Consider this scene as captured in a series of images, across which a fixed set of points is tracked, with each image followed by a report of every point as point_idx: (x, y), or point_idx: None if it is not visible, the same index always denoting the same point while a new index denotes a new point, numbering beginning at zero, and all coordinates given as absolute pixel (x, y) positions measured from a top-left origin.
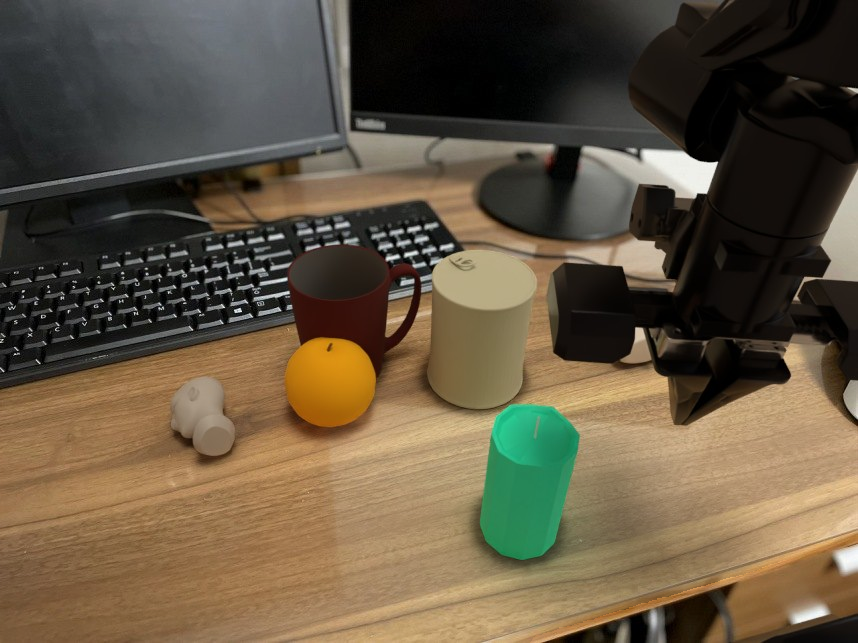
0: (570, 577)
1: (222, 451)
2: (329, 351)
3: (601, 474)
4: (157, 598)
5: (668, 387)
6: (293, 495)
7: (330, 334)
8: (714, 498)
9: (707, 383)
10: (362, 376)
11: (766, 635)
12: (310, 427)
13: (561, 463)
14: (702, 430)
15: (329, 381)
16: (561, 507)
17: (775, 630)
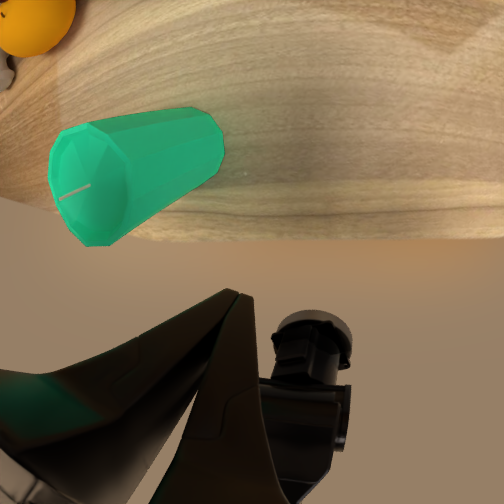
0: (223, 210)
1: (8, 84)
2: (4, 17)
3: (302, 91)
4: (11, 182)
5: (178, 314)
6: (41, 110)
7: (2, 1)
8: (426, 159)
9: (129, 497)
10: (31, 25)
11: (264, 424)
12: None
13: (107, 243)
14: (466, 63)
15: (8, 46)
16: (182, 194)
17: (276, 423)
